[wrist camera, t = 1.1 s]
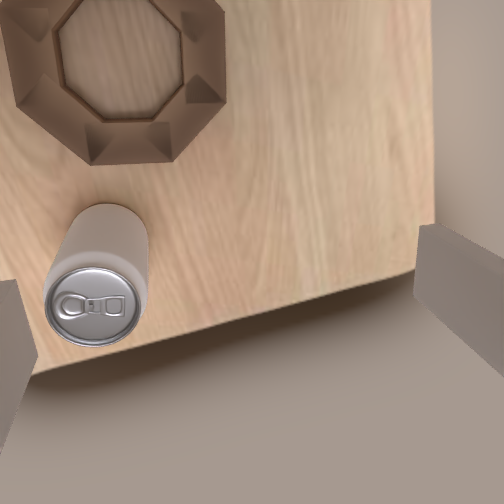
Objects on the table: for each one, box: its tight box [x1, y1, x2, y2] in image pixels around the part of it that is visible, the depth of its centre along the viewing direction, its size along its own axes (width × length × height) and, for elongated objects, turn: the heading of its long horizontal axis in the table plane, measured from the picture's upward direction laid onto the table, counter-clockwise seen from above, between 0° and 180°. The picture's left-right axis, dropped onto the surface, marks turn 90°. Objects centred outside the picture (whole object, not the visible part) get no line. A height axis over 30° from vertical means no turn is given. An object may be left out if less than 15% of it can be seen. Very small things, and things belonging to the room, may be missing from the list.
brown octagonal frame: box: [0, 0, 226, 166], centre depth 32 cm, size 14×14×2 cm
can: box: [43, 204, 149, 347], centre depth 33 cm, size 6×6×12 cm
